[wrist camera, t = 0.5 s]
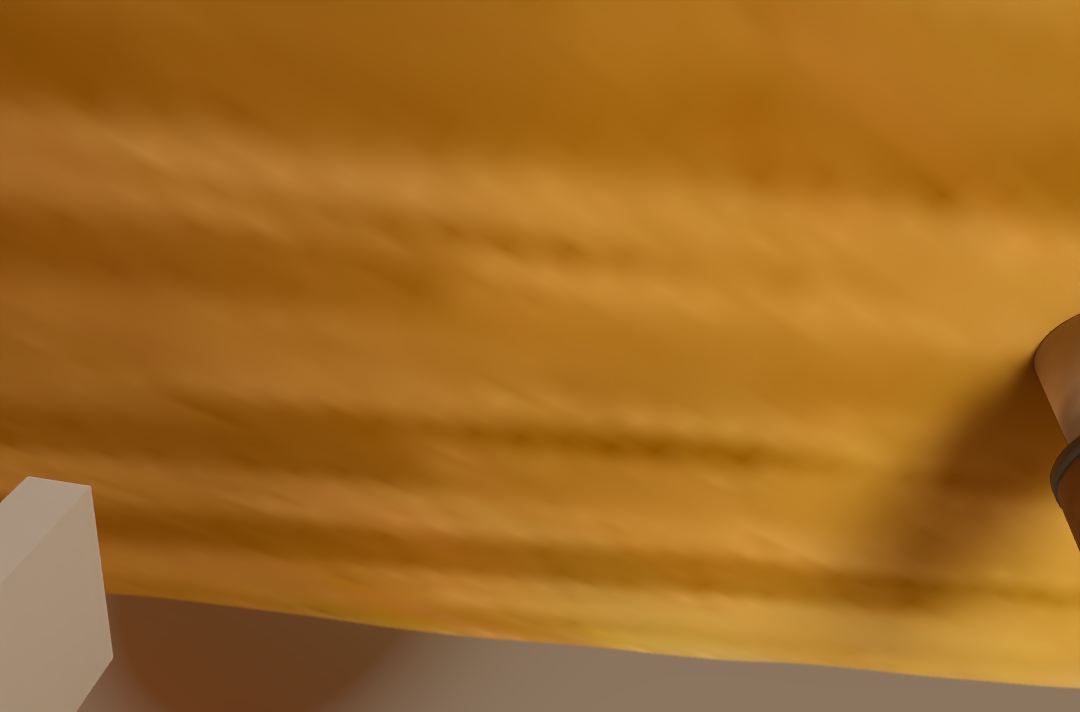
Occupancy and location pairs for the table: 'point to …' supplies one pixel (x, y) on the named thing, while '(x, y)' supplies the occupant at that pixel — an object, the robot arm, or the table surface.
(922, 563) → the table surface
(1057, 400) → the peg
